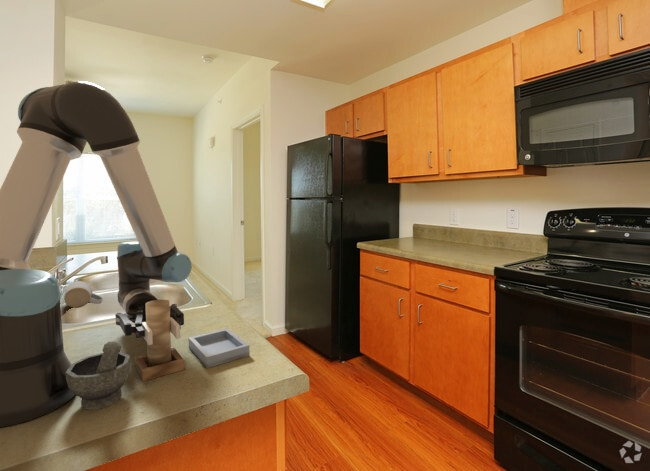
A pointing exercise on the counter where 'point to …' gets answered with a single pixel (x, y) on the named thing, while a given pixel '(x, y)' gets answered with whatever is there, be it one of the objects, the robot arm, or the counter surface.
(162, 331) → the dowel
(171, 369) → the socket block
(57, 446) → the counter surface
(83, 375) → the mortar and pestle
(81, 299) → the ceramic mug
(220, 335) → the tray
